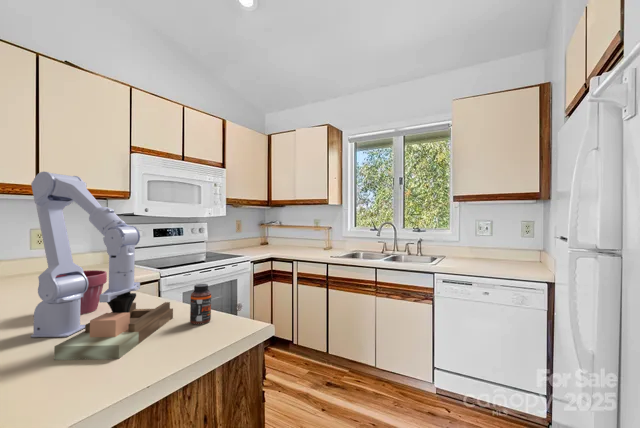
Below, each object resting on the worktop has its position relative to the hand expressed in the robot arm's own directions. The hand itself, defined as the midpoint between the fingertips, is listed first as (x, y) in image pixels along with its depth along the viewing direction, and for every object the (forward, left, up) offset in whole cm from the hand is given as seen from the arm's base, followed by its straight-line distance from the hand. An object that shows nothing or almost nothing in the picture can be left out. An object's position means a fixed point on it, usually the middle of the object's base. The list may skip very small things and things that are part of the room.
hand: (121, 322), depth 80 cm
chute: (0, +1, -4) cm, 4 cm away
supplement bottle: (+17, +12, -4) cm, 21 cm away
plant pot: (-27, +24, -4) cm, 36 cm away
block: (0, -5, -1) cm, 5 cm away
